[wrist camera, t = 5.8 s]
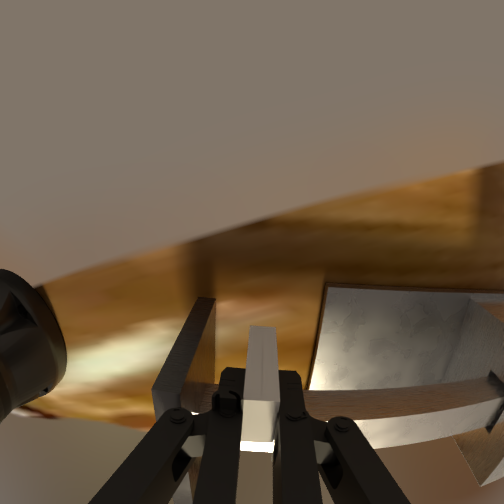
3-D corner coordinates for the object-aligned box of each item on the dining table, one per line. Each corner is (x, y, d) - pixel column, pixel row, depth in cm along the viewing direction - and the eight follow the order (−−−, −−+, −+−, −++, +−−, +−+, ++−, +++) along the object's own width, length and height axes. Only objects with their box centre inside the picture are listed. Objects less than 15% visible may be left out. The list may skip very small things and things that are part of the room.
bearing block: (302, 407, 27) (316, 525, 14) (325, 282, 24) (379, 392, 11) (499, 387, 27) (551, 452, 14) (535, 290, 23) (613, 340, 10)
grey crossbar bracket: (200, 421, 24) (177, 515, 14) (198, 296, 21) (151, 389, 11) (469, 411, 23) (510, 474, 14) (512, 308, 20) (581, 359, 11)
